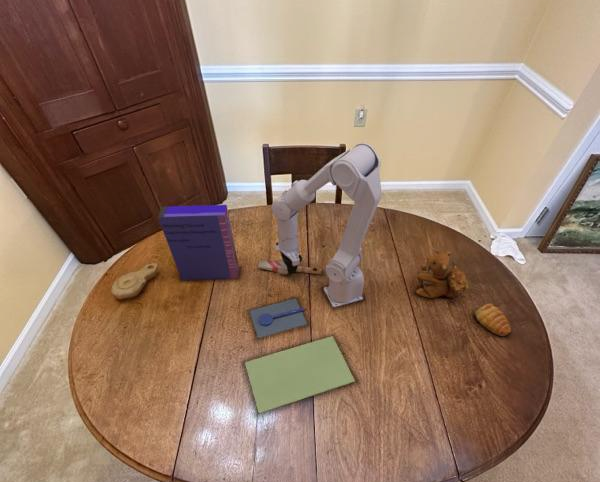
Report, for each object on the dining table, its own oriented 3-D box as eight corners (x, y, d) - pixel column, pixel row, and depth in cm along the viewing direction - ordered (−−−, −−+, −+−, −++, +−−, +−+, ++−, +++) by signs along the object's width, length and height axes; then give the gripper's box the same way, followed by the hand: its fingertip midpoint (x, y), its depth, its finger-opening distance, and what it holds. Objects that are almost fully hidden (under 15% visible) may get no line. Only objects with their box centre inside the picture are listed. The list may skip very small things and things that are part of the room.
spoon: (302, 304, 101) (302, 302, 100) (307, 314, 98) (307, 312, 97) (257, 317, 98) (256, 314, 97) (260, 327, 95) (260, 325, 95)
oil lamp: (163, 271, 111) (158, 260, 108) (145, 306, 102) (139, 294, 98) (131, 269, 112) (125, 258, 109) (110, 303, 103) (103, 292, 99)
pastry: (515, 331, 94) (521, 323, 91) (496, 341, 92) (502, 332, 89) (488, 307, 100) (493, 298, 97) (470, 315, 98) (475, 307, 95)
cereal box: (239, 268, 112) (226, 204, 95) (237, 278, 109) (224, 214, 91) (184, 269, 112) (161, 205, 94) (181, 280, 109) (157, 216, 91)
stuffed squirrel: (419, 272, 110) (430, 239, 100) (466, 288, 105) (482, 255, 95) (409, 292, 104) (420, 259, 94) (458, 310, 99) (474, 278, 89)
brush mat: (332, 336, 94) (332, 335, 93) (354, 381, 84) (355, 380, 84) (244, 363, 88) (244, 362, 88) (258, 414, 79) (258, 413, 79)
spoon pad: (295, 299, 103) (295, 298, 103) (307, 324, 96) (307, 323, 96) (249, 311, 100) (249, 310, 100) (258, 338, 93) (258, 338, 93)
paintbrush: (259, 256, 111) (322, 264, 109) (260, 262, 113) (321, 270, 111) (256, 264, 108) (320, 273, 107) (257, 271, 110) (320, 279, 109)
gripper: (267, 221, 104) (271, 255, 114) (281, 251, 94) (284, 286, 104) (290, 216, 105) (291, 250, 115) (306, 246, 96) (306, 280, 106)
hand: (289, 267), depth 110 cm, fingers closed on paintbrush, 5 cm apart
